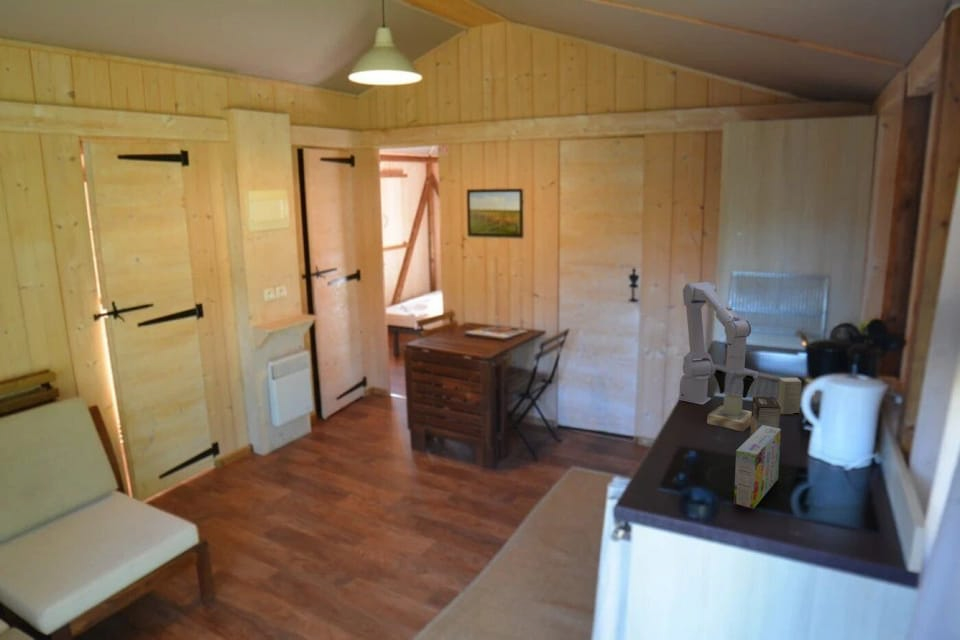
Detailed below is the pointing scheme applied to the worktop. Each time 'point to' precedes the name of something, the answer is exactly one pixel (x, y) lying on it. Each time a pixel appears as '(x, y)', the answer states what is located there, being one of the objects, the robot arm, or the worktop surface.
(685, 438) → the worktop surface
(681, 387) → the robot arm
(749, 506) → the snack box
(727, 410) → the green block
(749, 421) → the base block
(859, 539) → the worktop surface
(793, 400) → the skincare box
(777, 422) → the coffee box
